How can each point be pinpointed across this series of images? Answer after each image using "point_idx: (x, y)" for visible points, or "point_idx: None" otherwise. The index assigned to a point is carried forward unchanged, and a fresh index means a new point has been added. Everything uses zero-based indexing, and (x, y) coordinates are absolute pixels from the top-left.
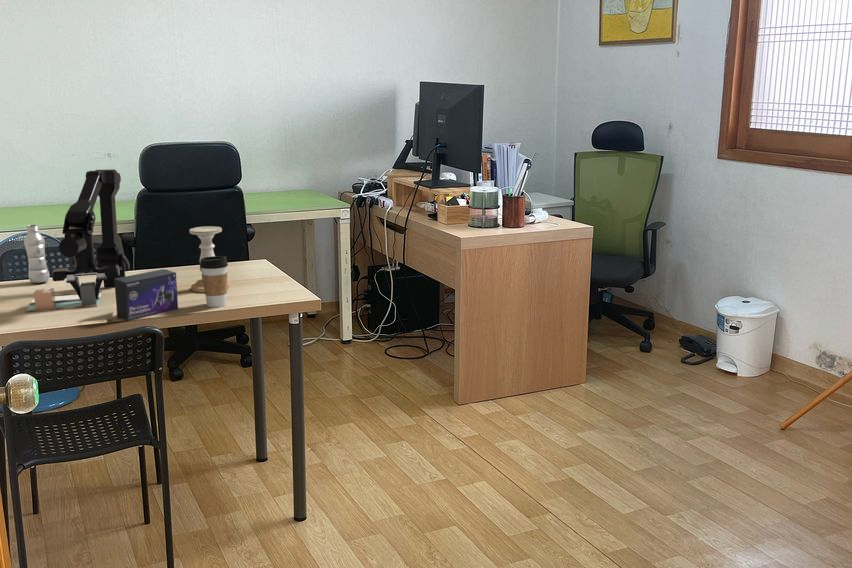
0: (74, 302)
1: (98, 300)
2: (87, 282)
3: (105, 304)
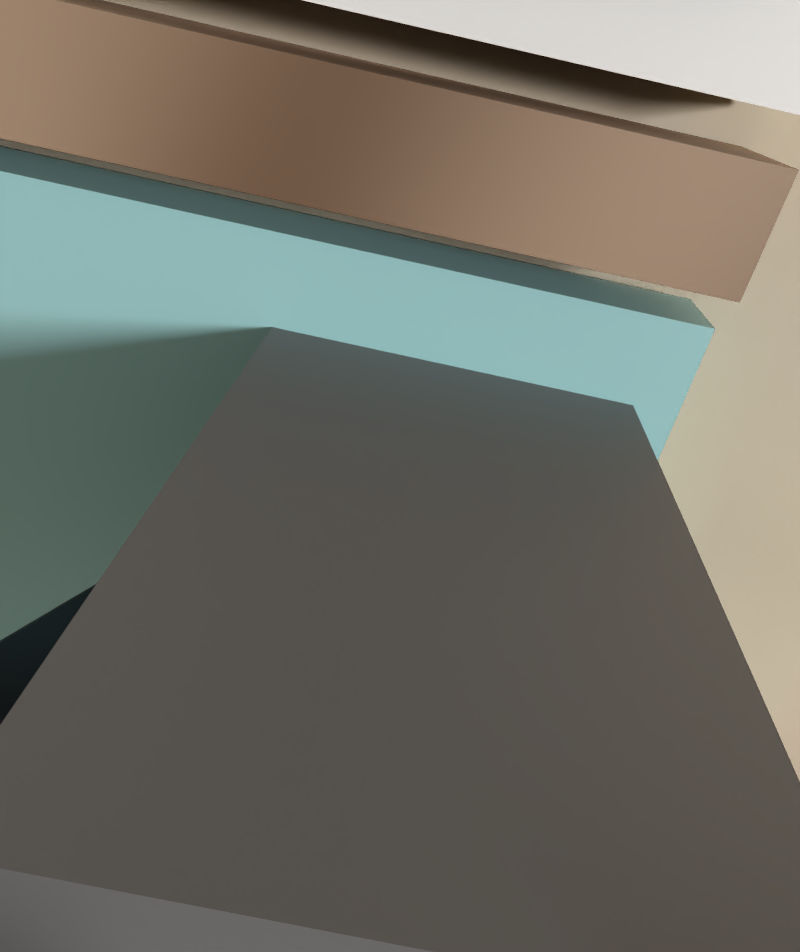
0: (29, 283)
1: (661, 412)
2: (358, 943)
3: (762, 461)
